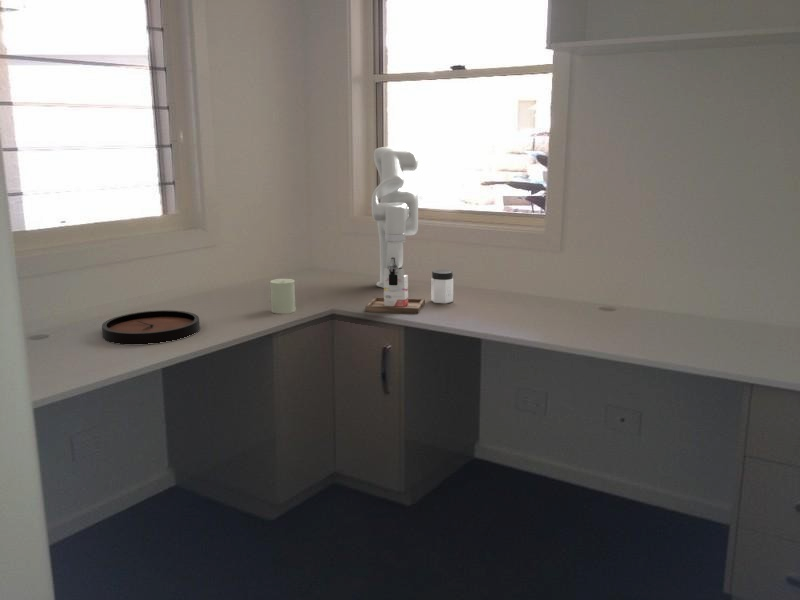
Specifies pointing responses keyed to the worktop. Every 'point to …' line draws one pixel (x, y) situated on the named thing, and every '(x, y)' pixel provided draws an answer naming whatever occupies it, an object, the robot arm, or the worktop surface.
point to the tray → (378, 306)
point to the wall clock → (150, 327)
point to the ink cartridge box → (396, 289)
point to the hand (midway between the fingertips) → (395, 282)
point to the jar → (442, 286)
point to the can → (282, 296)
